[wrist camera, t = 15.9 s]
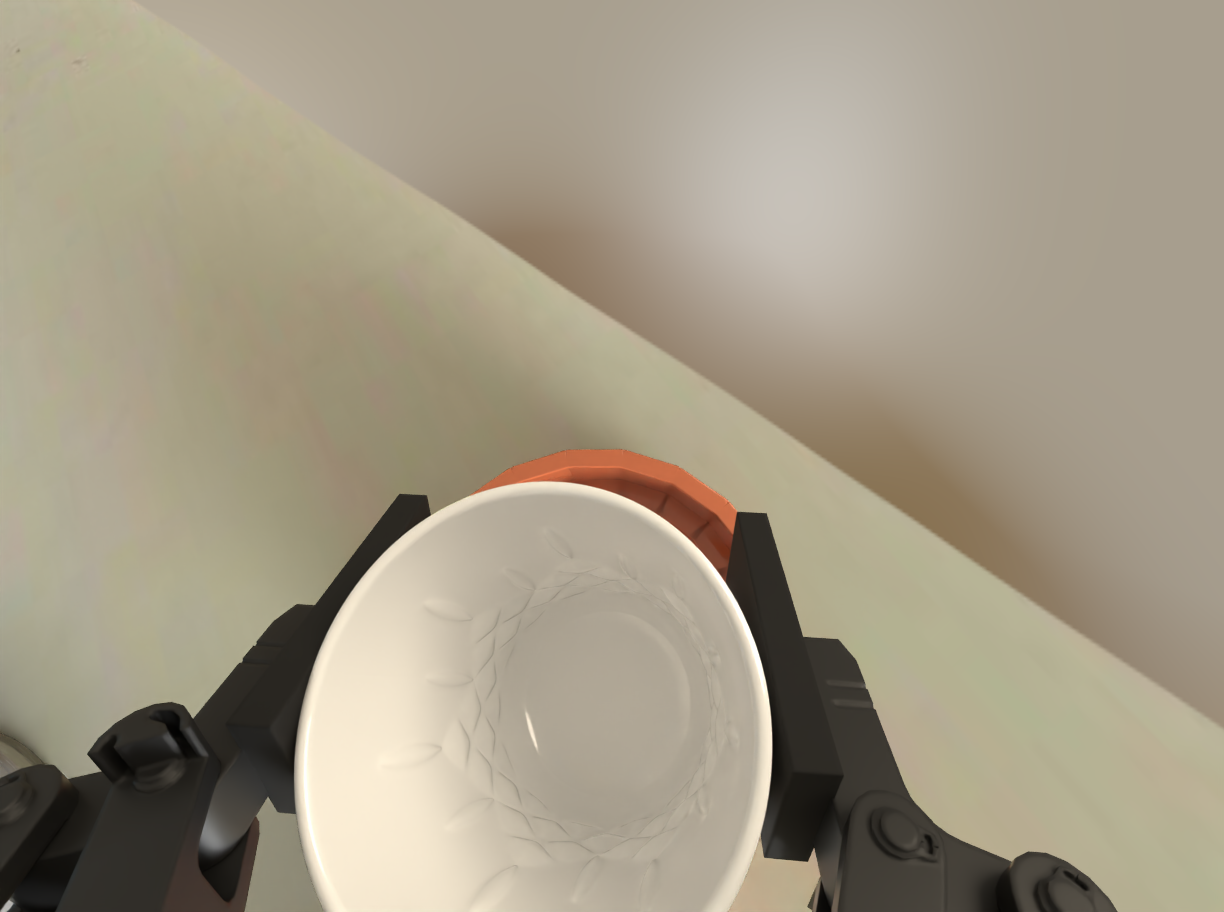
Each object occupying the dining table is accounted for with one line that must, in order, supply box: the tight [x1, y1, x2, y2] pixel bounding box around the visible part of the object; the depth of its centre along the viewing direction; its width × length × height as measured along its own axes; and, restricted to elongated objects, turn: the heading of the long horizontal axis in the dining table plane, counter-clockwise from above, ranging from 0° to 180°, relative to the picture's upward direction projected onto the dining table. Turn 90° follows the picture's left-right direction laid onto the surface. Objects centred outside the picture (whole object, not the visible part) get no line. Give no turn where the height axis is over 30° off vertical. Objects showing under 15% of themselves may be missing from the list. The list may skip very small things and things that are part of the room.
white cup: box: [294, 481, 772, 912], centre depth 13 cm, size 8×8×10 cm
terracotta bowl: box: [469, 449, 738, 582], centre depth 23 cm, size 16×16×6 cm
